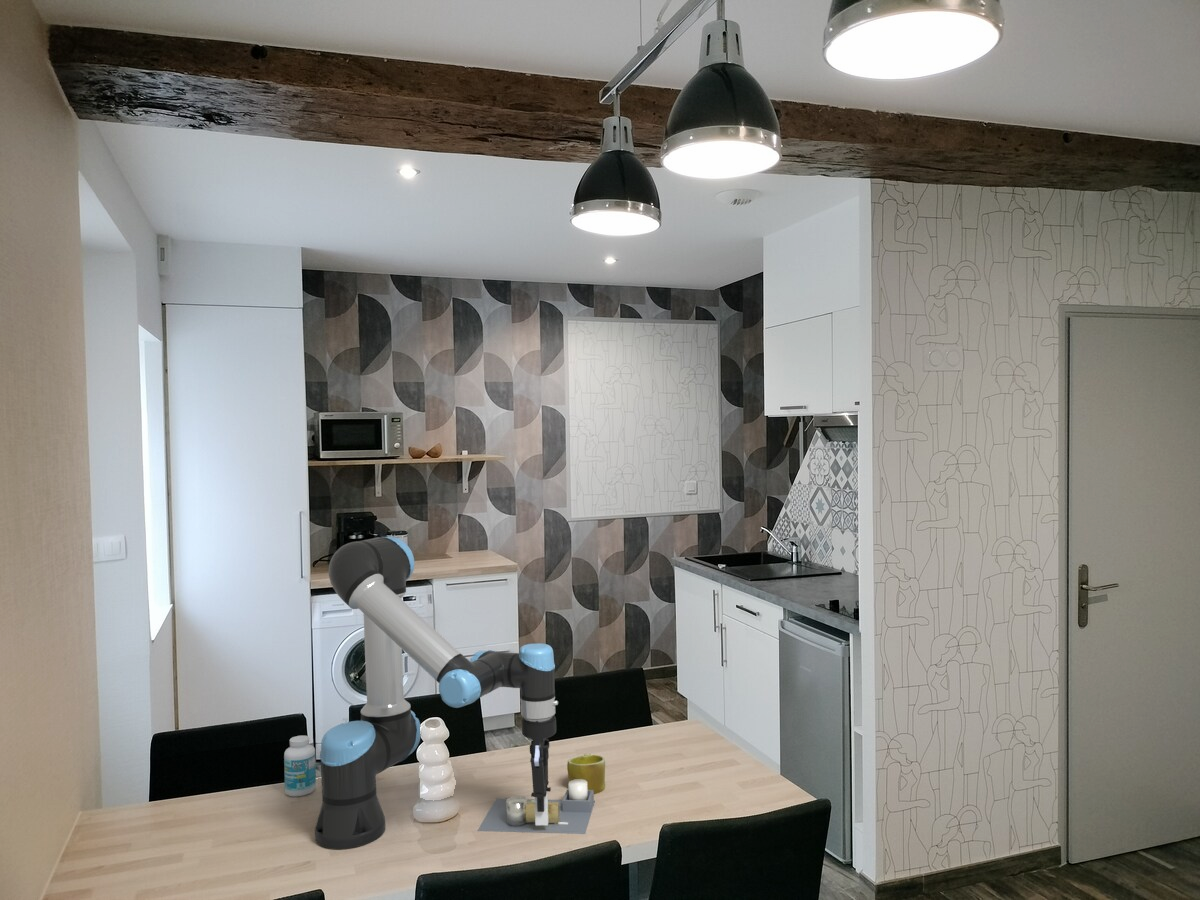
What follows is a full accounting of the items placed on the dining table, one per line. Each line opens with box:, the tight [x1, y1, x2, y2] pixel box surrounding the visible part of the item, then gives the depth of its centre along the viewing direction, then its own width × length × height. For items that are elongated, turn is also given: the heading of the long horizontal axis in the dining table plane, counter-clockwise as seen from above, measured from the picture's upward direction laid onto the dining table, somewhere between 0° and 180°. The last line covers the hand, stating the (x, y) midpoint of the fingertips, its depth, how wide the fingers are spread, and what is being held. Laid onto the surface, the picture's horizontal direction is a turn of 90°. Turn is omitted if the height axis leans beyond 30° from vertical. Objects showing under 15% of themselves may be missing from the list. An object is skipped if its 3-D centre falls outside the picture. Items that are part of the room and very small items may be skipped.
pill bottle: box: [283, 735, 317, 798], centre depth 211 cm, size 8×7×14 cm
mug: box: [566, 753, 606, 795], centre depth 207 cm, size 12×10×10 cm
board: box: [477, 789, 596, 835], centre depth 190 cm, size 24×17×4 cm
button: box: [568, 779, 588, 800], centre depth 195 cm, size 4×4×4 cm
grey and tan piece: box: [506, 795, 560, 826], centre depth 186 cm, size 12×5×5 cm, turn 83°
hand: (542, 823), depth 183 cm, fingers closed
